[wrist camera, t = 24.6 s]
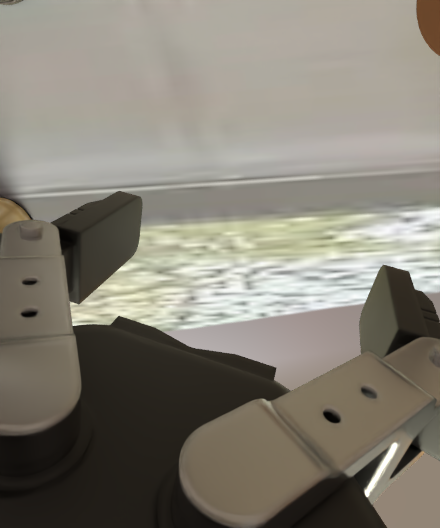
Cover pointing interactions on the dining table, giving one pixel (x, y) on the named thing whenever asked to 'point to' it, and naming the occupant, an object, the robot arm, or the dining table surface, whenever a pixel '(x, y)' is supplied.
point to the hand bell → (10, 213)
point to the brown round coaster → (429, 22)
